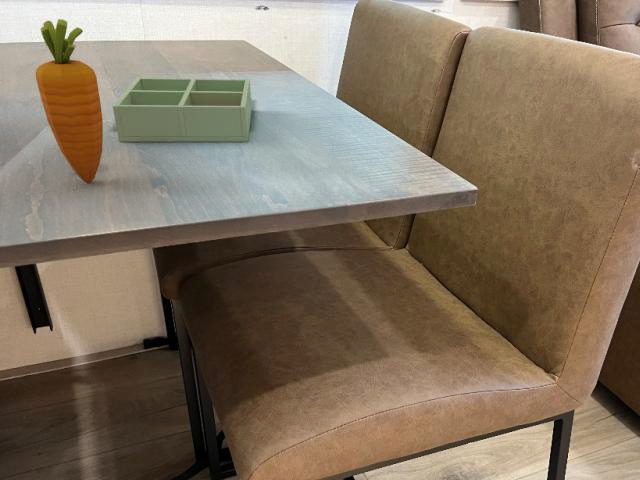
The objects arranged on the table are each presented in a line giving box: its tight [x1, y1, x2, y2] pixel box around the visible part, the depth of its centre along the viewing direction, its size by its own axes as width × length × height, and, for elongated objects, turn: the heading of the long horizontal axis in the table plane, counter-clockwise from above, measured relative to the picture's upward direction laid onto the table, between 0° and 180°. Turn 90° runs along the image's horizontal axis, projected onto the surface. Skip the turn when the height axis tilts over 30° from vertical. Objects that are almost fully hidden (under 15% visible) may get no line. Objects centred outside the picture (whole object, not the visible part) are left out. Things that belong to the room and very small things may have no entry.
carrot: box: [35, 18, 104, 184], centre depth 59 cm, size 5×5×15 cm
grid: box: [112, 77, 253, 143], centre depth 80 cm, size 15×15×4 cm
